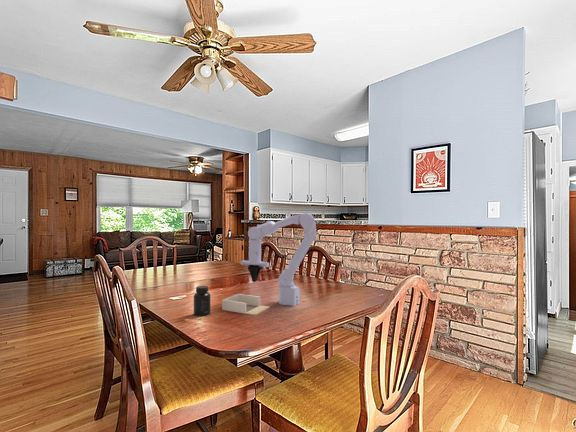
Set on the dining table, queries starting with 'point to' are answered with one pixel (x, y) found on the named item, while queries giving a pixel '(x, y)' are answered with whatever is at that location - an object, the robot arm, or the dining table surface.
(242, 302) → the carton
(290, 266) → the robot arm
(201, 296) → the supplement bottle
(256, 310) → the flap
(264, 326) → the dining table surface
